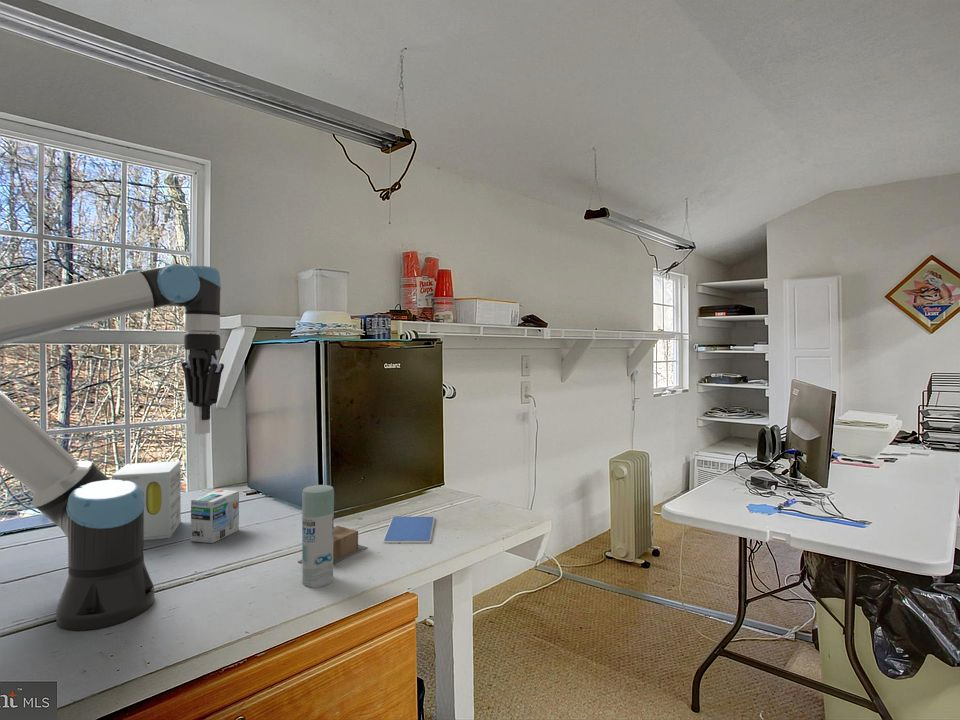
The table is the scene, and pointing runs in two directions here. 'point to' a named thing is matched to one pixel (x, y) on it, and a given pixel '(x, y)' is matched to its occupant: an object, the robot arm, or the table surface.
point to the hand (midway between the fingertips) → (202, 433)
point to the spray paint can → (317, 535)
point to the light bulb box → (214, 516)
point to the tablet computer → (409, 530)
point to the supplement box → (157, 495)
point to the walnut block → (344, 541)
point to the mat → (346, 554)
